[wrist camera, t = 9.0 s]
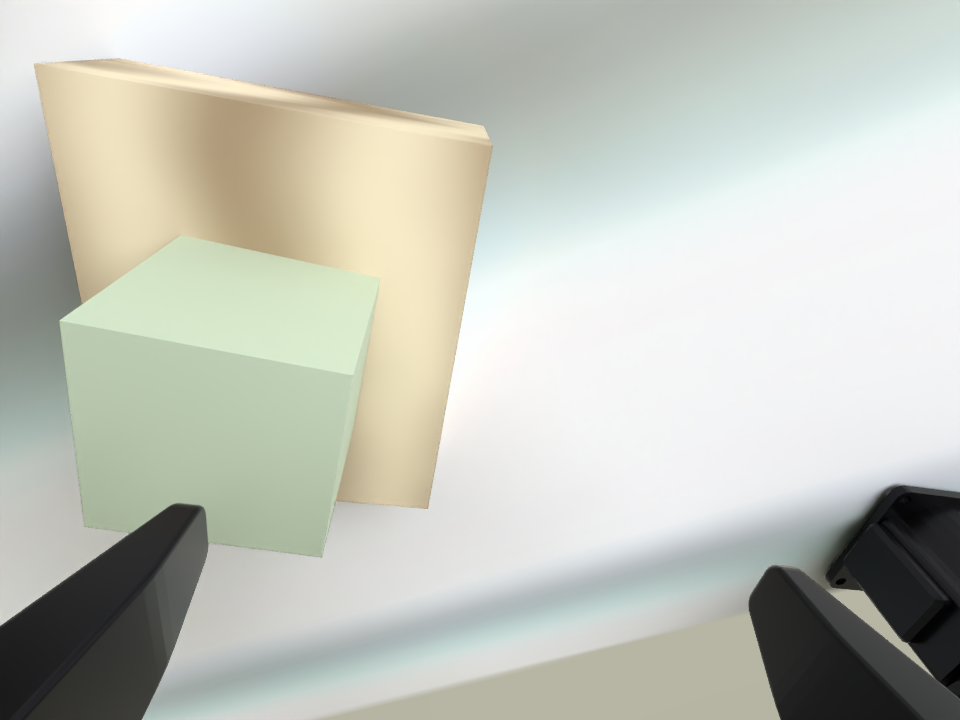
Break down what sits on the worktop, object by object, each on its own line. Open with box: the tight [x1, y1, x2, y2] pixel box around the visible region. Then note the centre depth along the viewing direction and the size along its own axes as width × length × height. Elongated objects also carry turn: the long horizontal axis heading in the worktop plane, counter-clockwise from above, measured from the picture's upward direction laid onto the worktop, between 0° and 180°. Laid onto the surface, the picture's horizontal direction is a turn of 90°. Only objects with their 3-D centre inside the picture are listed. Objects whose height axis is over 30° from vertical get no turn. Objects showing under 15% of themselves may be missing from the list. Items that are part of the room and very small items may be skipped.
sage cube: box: [59, 235, 381, 557], centre depth 13 cm, size 5×5×5 cm
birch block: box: [34, 58, 493, 509], centre depth 17 cm, size 10×12×4 cm
